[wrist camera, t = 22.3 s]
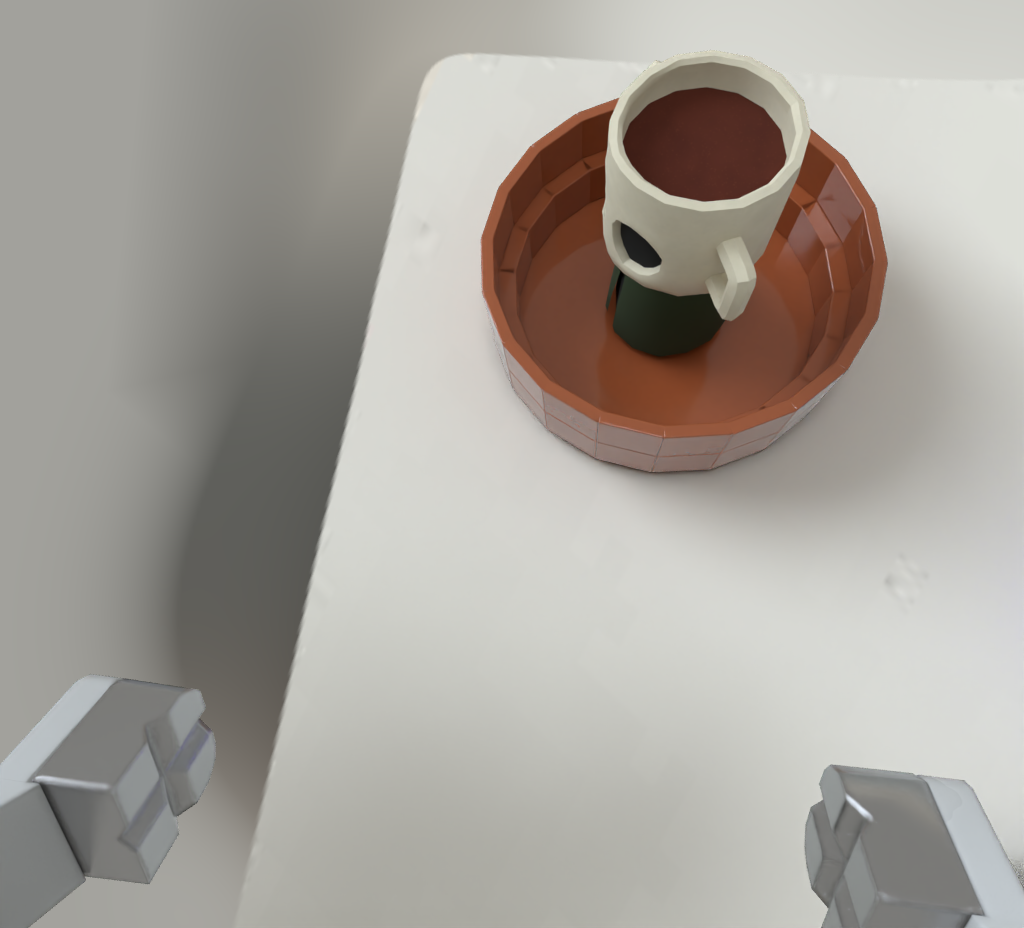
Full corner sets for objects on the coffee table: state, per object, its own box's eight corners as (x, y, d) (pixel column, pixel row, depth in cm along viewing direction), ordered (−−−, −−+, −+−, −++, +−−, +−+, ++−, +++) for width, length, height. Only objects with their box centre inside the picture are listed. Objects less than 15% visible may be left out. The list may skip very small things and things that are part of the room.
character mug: (571, 242, 39) (568, 41, 26) (695, 207, 39) (750, -12, 26) (631, 418, 36) (660, 284, 23) (766, 380, 36) (867, 224, 23)
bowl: (454, 427, 37) (431, 382, 31) (545, 147, 42) (540, 64, 36) (805, 514, 34) (850, 483, 28) (862, 203, 39) (911, 122, 33)
